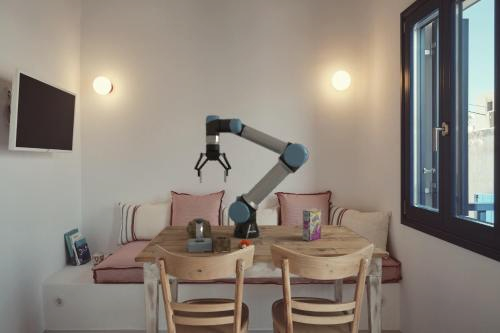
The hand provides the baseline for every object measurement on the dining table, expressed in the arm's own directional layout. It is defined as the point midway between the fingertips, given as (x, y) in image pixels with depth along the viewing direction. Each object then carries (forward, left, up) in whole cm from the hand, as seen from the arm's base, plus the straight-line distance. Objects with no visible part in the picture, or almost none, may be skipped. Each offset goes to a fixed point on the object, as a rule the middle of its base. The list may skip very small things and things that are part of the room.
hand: (213, 182), depth 187 cm
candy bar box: (-53, +13, -32) cm, 63 cm away
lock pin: (+10, +18, -32) cm, 37 cm away
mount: (0, +22, -32) cm, 39 cm away
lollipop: (-14, +21, -32) cm, 41 cm away
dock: (+10, +18, -32) cm, 37 cm away
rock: (+6, -16, -32) cm, 37 cm away
